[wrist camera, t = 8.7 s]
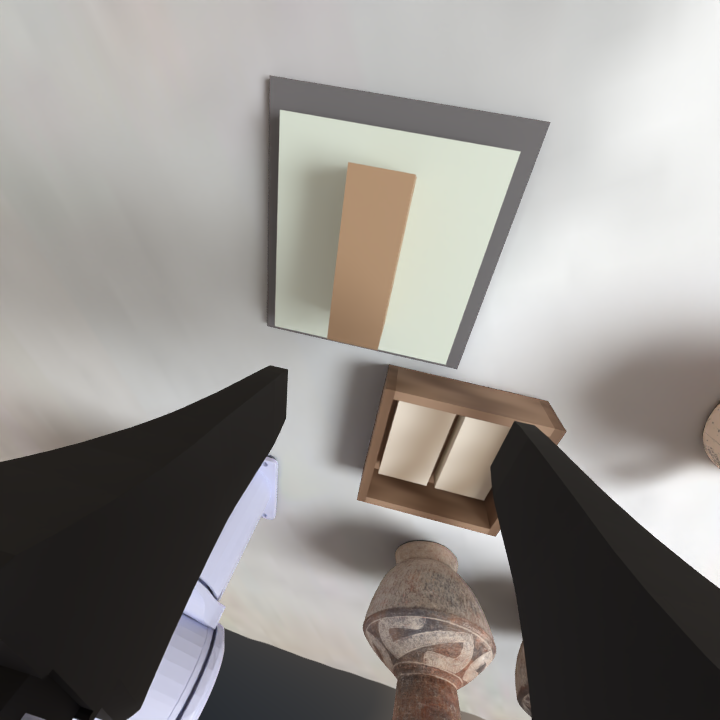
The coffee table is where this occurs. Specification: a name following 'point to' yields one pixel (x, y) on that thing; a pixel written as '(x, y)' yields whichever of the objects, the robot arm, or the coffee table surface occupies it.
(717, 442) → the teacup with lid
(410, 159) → the lid
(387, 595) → the pottery
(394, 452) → the tea box
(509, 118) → the mat
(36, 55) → the coffee table surface
